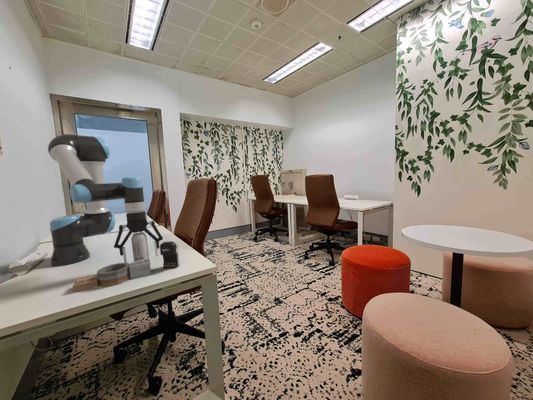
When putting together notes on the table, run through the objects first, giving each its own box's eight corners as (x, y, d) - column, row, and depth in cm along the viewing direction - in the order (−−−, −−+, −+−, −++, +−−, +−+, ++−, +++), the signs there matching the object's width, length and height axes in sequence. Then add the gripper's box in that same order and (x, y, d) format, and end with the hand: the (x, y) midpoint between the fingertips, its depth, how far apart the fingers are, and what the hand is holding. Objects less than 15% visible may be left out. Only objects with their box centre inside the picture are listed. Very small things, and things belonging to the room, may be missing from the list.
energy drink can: (131, 268, 97) (127, 235, 96) (141, 263, 103) (137, 232, 101) (143, 268, 96) (139, 235, 94) (152, 263, 102) (149, 231, 100)
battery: (160, 269, 94) (157, 243, 93) (166, 265, 97) (163, 240, 96) (175, 269, 93) (172, 243, 91) (180, 265, 96) (177, 240, 95)
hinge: (79, 283, 84) (77, 270, 84) (150, 267, 96) (149, 256, 95) (71, 295, 75) (69, 281, 75) (150, 276, 87) (149, 263, 86)
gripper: (101, 216, 88) (108, 267, 90) (165, 209, 99) (170, 255, 102) (104, 214, 95) (110, 262, 97) (164, 207, 106) (169, 250, 108)
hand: (141, 258), depth 99 cm, fingers open, 12 cm apart
